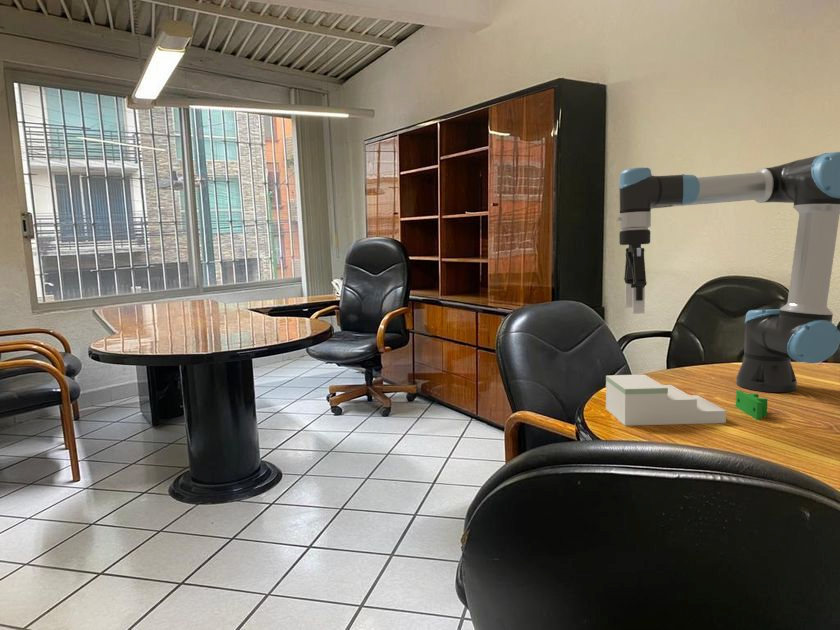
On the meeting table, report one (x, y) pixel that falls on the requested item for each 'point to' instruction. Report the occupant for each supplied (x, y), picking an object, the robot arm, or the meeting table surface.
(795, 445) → the meeting table surface
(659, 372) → the meeting table surface
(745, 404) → the pipe clamp
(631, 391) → the stepped riser
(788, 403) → the meeting table surface
